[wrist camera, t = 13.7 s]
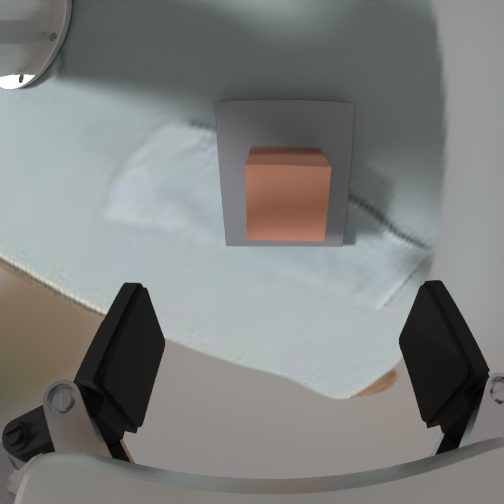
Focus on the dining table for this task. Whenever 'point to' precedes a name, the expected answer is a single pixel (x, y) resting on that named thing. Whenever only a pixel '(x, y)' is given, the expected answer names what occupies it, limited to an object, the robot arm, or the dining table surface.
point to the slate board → (283, 135)
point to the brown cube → (286, 193)
